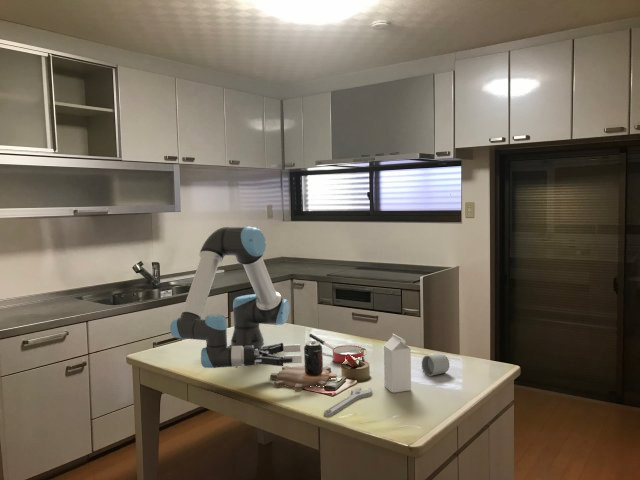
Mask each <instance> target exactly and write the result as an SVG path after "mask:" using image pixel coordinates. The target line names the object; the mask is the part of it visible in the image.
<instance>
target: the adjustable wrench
mask: <svg viewBox="0 0 640 480" xmlns="http://www.w3.org/2000/svg"><path fill="white" fill-rule="evenodd" d="M371 395H373V388H372V387H368V389H366V390H362V386H357V387H355V388H353V389H351V391H350V395H349V396H347V397H345V398H344V399H342V400H340V401H339V402H337V403H335V404H334V405H332V406H330V407H328V408H327V409H325V410H324V411H323V415H324V416H325V417H333V415H335V414H336V413H339V411H341V410H343V409H344V408H346V407H347V406H349V405H350V404H352V403H353V402H355V401H357V400H359V399H362V398H365V397H369V396H371Z"/></svg>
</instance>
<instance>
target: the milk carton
mask: <svg viewBox="0 0 640 480" xmlns="http://www.w3.org/2000/svg"><path fill="white" fill-rule="evenodd" d="M391 335H392V336H391V337H390V338H389V340H387V342H385V344H384V345H383V367H384V368H383V375H384V376H383V377H384V380H383V382H384V387H385V388H386V389H387V390H389V391H390V392H391V393H392V394H393V393H394V394H395V393H400V392H407V391H412V369H411V368H412V363H411V362H412V361H411V360H412V359H411V357H412V355H411V351H412V350H411V349H412V348H411V347H409V346H408V345H406V342H407V341H406V340H405V339H404V338H402V337H400V336H398V335H397V334H394V333H392V334H391Z"/></svg>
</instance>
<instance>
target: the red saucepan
mask: <svg viewBox="0 0 640 480" xmlns="http://www.w3.org/2000/svg"><path fill="white" fill-rule="evenodd" d="M308 336H309V338H310V339H312V340H313V341H318V342H320V345H324V346H326V347H327V348H328V349H330V350H331V351H332V360H333V362H335V363H337V364H340V365H343V364H342V363H343V362H344V361H345V356H346V355H347V354H349V355H351V356H353V357H355V358H358V357H361V356H364V357H362V360H363V361H364V360H365V349H364V347H362V346H359V345H358V346H357V345H353V344H351V345H350V344H349V345H348V344H345V345H344V344H343V345H339V346H336V347H334V346H332V345H331V344H328V343H327V342H326V341H325V340H323V339H321V338H319V337H317V336H316V335H314V334H313V333H310V334H309V335H308ZM361 349H363V350H362V351H361V353H359V351H360V350H361Z"/></svg>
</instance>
